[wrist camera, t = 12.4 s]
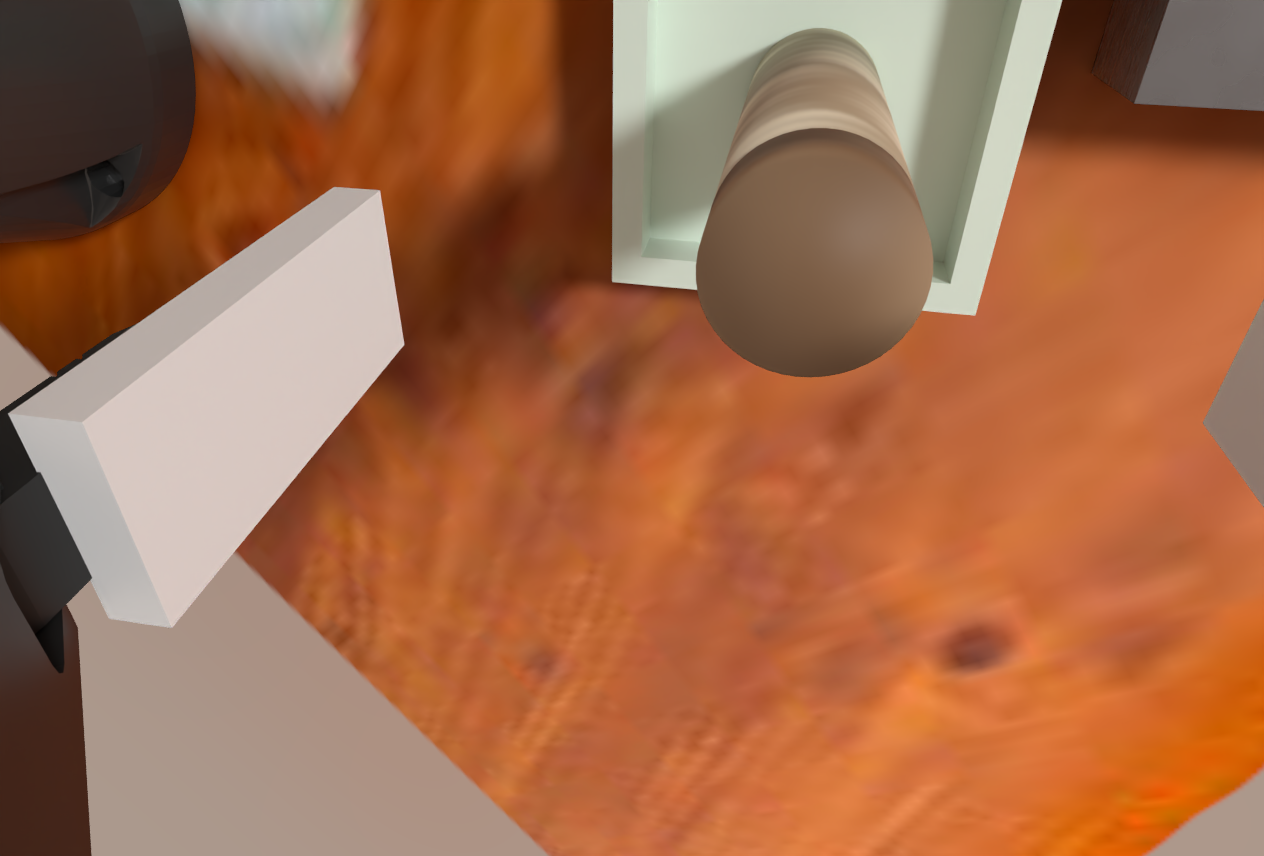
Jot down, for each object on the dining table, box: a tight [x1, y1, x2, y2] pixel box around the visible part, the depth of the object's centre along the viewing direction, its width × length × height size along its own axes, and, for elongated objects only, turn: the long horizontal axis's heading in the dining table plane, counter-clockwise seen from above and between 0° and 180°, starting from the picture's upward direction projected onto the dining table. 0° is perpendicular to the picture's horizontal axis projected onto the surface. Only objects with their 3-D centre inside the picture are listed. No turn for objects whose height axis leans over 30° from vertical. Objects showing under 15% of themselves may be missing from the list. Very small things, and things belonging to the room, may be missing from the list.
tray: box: [612, 0, 1062, 315], centre depth 25 cm, size 12×12×2 cm
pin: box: [696, 28, 933, 377], centre depth 20 cm, size 4×4×14 cm
